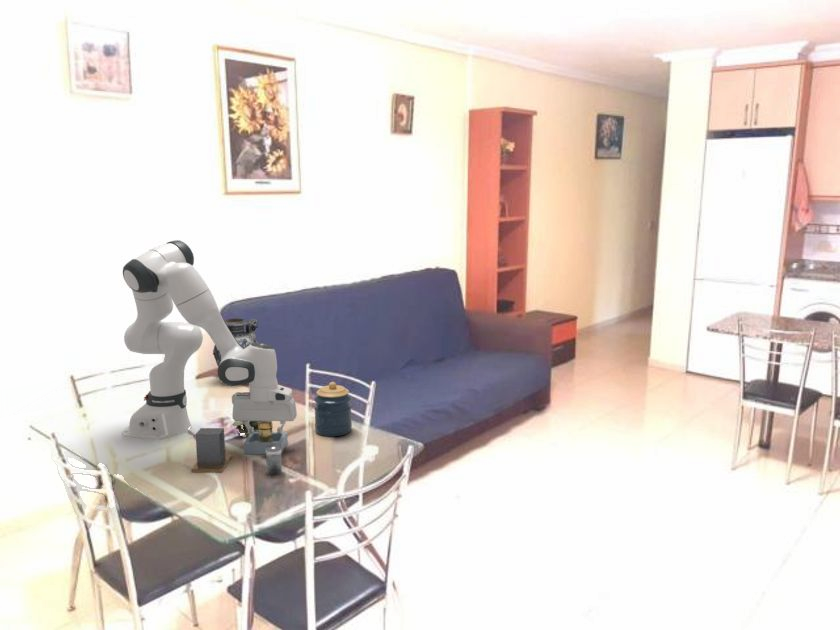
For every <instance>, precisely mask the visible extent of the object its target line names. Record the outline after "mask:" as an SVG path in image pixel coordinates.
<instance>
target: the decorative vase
mask: <svg viewBox="0 0 840 630" xmlns="http://www.w3.org/2000/svg"><path fill="white" fill-rule="evenodd" d="M224 322H225V323H226V325H227V327H228V328H229V330H230V331H231V333H232V335H233V336H234V338H235V339H236V341H237V342H238V343H239V344H240V345H242V346H243V347H244V348H246V347H248V346H249V345H250V344H251V343H257V342H258V341H257V336H256V332H255V331H256V329H258V328H259V326H258V324H259V321H258V320H257V319H255V318H253V319H250V320H249V321H246V320H245V319H243V318H229V319H228V318H227V319H226V320H225V321H224ZM212 355H213V357H214V359H215V362H216V365H217V368H218V367H219V364H220V362H221V354H220V351H219V350H218V348H217V347H216V345H215V344H214V345H213V349H212Z"/></svg>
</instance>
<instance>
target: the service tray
mask: <svg viewBox="0 0 840 630" xmlns="http://www.w3.org/2000/svg"><path fill="white" fill-rule="evenodd" d="M272 432H273V442H259V432H254V433H253V434H250V435H249V436H248V437H246V439H245V440H244V442H243V444H242V445H243V446H242V447H243V455H266V451H265V450H266V446H267V445H269V444H279V445H281V455H283V452H284V450H285V448H286V445H287V444H288V441H289V440H288V432H287V431H283V433H282V434H277V432H278V431H272Z"/></svg>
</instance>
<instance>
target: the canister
mask: <svg viewBox="0 0 840 630" xmlns="http://www.w3.org/2000/svg"><path fill="white" fill-rule="evenodd" d="M315 393H316V396H314V398H313V400H314V402H315V405H314V407H313V409H314V430H315V433H317V434H318V435H320V436H324V437H338V436H343V435H346V434H349V433H350V432H351V430H352V426H353V423H352V404H351V400H352V396H351V395H350V394H349V393H350V390H349V389H348V388H346V387H345V386H344V385H339V384H337V383H336V382H335V381H331V382H329V383H328V385H324V386H322V387H320V388H319V389H317V390H316V392H315Z"/></svg>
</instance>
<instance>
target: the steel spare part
mask: <svg viewBox="0 0 840 630" xmlns="http://www.w3.org/2000/svg"><path fill="white" fill-rule="evenodd" d="M265 451H266V454H265V460H266V464H265V465H266V475H269V476H276V475H279V474H281V473H283V472H282V471H283V470H282V469H283V468H282V467H283V466H282V454H281V445H279V444H269V445H267V446H266V450H265Z"/></svg>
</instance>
